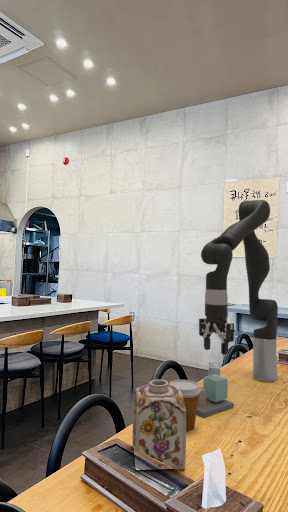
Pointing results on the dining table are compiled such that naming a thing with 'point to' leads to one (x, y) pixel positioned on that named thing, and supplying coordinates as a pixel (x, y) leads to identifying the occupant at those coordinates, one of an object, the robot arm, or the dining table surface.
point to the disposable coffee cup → (189, 399)
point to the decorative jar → (160, 423)
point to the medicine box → (214, 368)
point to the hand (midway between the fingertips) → (215, 351)
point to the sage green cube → (215, 387)
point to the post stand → (211, 405)
